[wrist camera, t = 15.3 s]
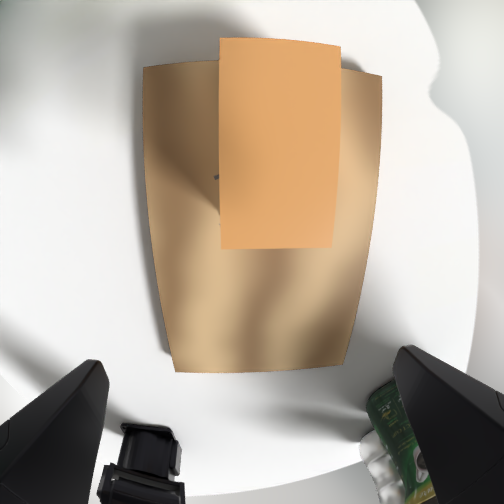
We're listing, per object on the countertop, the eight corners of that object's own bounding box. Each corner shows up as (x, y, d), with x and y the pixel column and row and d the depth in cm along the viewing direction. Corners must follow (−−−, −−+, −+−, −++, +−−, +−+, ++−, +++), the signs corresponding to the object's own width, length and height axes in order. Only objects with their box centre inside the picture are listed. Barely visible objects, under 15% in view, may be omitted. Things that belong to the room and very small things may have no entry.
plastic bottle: (385, 415, 30) (434, 540, 11) (404, 424, 32) (449, 530, 13) (346, 440, 31) (381, 561, 13) (369, 446, 33) (404, 550, 15)
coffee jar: (372, 420, 30) (415, 538, 13) (357, 395, 27) (411, 542, 10) (437, 383, 28) (497, 490, 11) (433, 350, 25) (514, 479, 8)
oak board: (177, 359, 23) (175, 372, 22) (150, 72, 14) (143, 67, 13) (338, 353, 24) (342, 364, 22) (371, 79, 15) (381, 76, 14)
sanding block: (222, 217, 17) (218, 251, 12) (222, 64, 13) (217, 35, 9) (307, 217, 17) (333, 249, 12) (311, 67, 13) (342, 45, 9)
